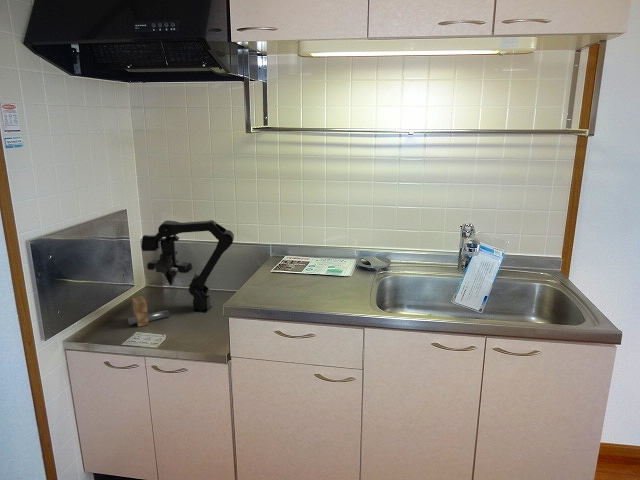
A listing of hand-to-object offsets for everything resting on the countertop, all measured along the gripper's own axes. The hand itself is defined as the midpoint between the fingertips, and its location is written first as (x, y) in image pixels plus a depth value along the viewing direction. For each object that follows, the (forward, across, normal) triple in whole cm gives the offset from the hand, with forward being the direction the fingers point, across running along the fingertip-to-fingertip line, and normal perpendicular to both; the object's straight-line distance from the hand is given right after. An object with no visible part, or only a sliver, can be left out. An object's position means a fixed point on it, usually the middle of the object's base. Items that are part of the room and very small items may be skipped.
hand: (171, 284), depth 206 cm
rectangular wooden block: (+12, -6, -14) cm, 20 cm away
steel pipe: (+12, -4, -12) cm, 18 cm away
